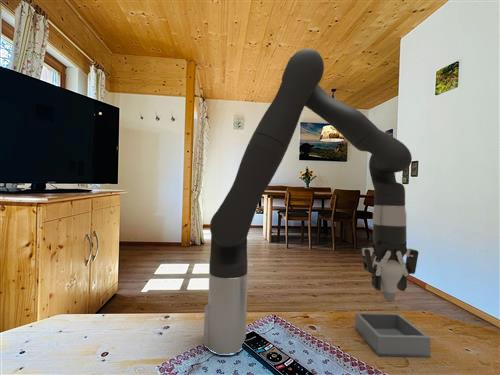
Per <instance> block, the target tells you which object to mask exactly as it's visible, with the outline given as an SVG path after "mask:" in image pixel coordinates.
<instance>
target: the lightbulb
mask: <svg viewBox="0 0 500 375" xmlns="http://www.w3.org/2000/svg"><path fill="white" fill-rule="evenodd" d="M380 262H381V261H378V263H380ZM376 268H377V266H376ZM402 275H403V269H402V267H401V265H400V264H399V262H397V261H395V260H388V261H387V263H386V265H385V266H384V267H383V268H381V274H380V276H381V290H382V292H383V293H382V295H383V299H384V300H386V302H389V303H391V302H393V301H395V300H396V292H397V284H398V282H399V281H400V279H401V277H402Z"/></svg>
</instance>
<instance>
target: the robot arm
mask: <svg viewBox="0 0 500 375" xmlns="http://www.w3.org/2000/svg"><path fill="white" fill-rule="evenodd" d="M324 72H325V64H324V59H323V58H322V55H321V53H319V51H317V50H315V49H313V48H303V49H300V50H298V51H297V52H295V53H293V55H292V56H290V58H289V59H288V61H287V64H286V66H285V68H284V71H283V73H282V77H281V82H280V86H279V87H278V90H277V92H276V94H275V97H274V98H273V99H272V101H271V104H270V105H269V106H268V107H267V110H266V111H265V113H264V114H263V116H262V118H261V119H260V120H259V122H258V124H257V126H256V128H255V130H254V132H253V133H252V135H251V138H250V140H249V141H248V144H247V146H246V148H245V150H244V153H243V156H242V158H241V160H240V163H239V167H238V169H237V173H236V175H235V179H234V181H233V184H232V186H231V187H230V189H229V191H228V193H227V194H226V196H225V197H224V199H223V201H222V202H221V204H220V205H219V208H218V209H217V210H216V211H215V212H214V214H213V216H212V218H211V220H210V223H209V230H210V235H211V236H210V254H209V264H208V265H209V267H208V268H209V269H208V270H209V271H208V272H209V274H208V275H209V276H208V279H209V280H208V303H207V304H206V305H205V306H204V318H203V319H204V320H203V321H204V322H203V326H204V327H203V347H204V346H206V347H208V348H209V349H210V350H212V351H214V352H216V353H222V354H230V353H234V352H237V351H239V350H240V349H241V348H242V344H243V342H244V341H245V339H246V338H247V303H248V302H247V298H248V265H249V264H248V234H249V232H250V229H251V226H252V222H253V220H254V217H255V215H256V212H257V209H258V207H259V203H260V201H261V199H262V197H263V195H264V193H265V191H266V189H267V188H268V187H269V185H270V184H271V181H272V180H273V178H274V176H275V174H276V173H277V171H278V169H279V167H280V165H281V164H282V161H283V160H284V157H285V155H286V152H287V151H288V148H289V146H290V144H291V141H292V139H293V136H294V133H295V132H296V129H297V127H298V123H299V120H300V119H301V115H302V112H303V110H304V108H305V107H306V108H307V109H308V110H309V111H311V112H313V113H314V114H316V115H317V116H318V117H320V118H321V119H322V120H324V121H325V122H326V123H328V124H329V125H330V126H332V127H333V128H334V129H335V131H337V132H339V134H340V135H342V137H343V138H345V139H346V140H347V141H348V142H349V144H351V145H352V146H353V147H354V148H355V149H356V150H358V151H360V152H366V153H369V154H371V155H370V158H369V161H368V169H369V173H370V175H369V176H370V178H371V183H372V186H373V189H374V192H373V197H374V198H373V211H372V241H373V242H372V246H371V247H361V248H360V253H361V258H362V264H363V269H364V270H365V271H366V272H368V273H369V274H371V286H372V287H373V289H374V290H376V291H379V292H380V291H381V290H382V284H381V276H380V274H381V268H383V267H384V266H385V265H386V263H387V261H388V260H395V261H397V262H399V264H400V265H401V267H402V269H403V275H402V277H401V279H400V281H399V282H398V284H397V287H396V289H398V290H399V291H401V292H405V291H406V289H407V287H408V285H407V284H408V283H407V282H408V275H411V274H412V275H414V274H415V273H416V269H417V264H418V259H419V258H418V257H419V251H418V250H416V249H413V248H407V245H406V243H407V211H406V189H405V188H406V187H405V185H404V184H402V183H401V182H397V179H396V175H395V174H396V173H400V172H403V171H405V170H407V169H408V168H409V167H410V166H411V164H412V159H413V157H412V153H411V151H410V150H409V148H408V146H406V145H405V143H403V142H401V140H399V139H397V138H395V137H393V136H392V135H390V134H389V133H387V132H384V130H381V129H379V127H377V125H375V124H374V123H373V122H372V121H371V120H370V118H368V117H367V116H366V115H365V114H363V113H362V112H361V111H360V110H358V109H356V108H355V107H354V106H351V105H349V104H346V103H344V102H343V101H340V100H338V99H335V98H334V97H333V96H331V95H330V94H328V93H327V92H326V91H325V90H324V89H323V88H322V87H321V85H320V84H319V83H320V82H321V80H322V79H323V76H324ZM373 254H374V255H375V256H374V259H373V262H372V257H373ZM405 256H406V258H405V260H404V257H405ZM378 261H381V262H380V263H378ZM376 266H377V268H376Z"/></svg>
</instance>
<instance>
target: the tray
mask: <svg viewBox="0 0 500 375" xmlns="http://www.w3.org/2000/svg"><path fill="white" fill-rule="evenodd" d="M354 315H355V322H354V323H355V325H354V326H355V328H354V330H355V331H356V332H357V333H358V334H359V335H360V336H361V338H362V339H363V340H364V341H365V342H366V343H367V345H368V346H369V347H370V348H371V349H372V351H373V352H374V353H375V354H376V355H377V357H383V358H384V357H387V358H388V357H389V358H391V357H392V358H399V357H400V358H431V337H430V336H428V334H426V333H425V332H424V331H422V330H420V329H419V327H417V326H416V325H414V324H413V323H411V321H409V320H408V319H406V318H405V317H404V316H402V315H401V314H400V313H393V312H391V313H390V312H385V313H384V312H355V314H354Z"/></svg>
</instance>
